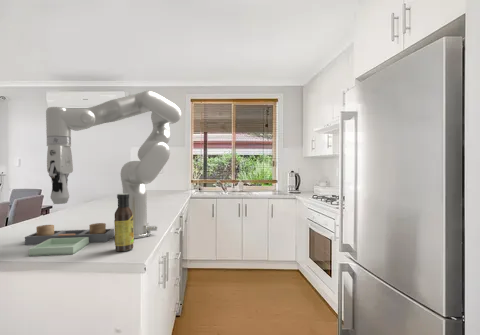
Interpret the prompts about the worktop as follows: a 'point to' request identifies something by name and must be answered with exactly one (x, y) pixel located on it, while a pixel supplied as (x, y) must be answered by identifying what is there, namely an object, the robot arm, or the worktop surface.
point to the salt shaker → (60, 192)
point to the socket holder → (70, 236)
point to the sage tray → (59, 246)
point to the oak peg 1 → (45, 230)
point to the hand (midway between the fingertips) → (60, 192)
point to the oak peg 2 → (97, 228)
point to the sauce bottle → (123, 224)
